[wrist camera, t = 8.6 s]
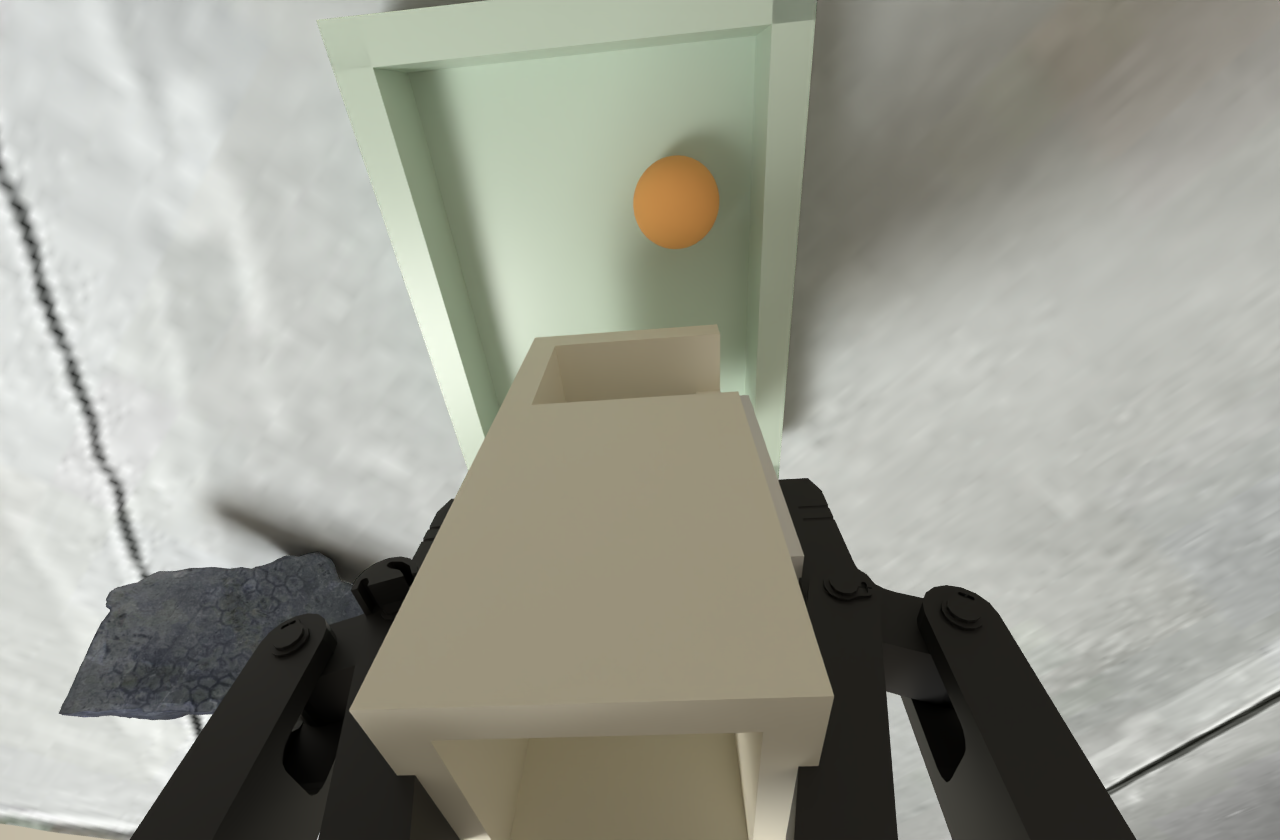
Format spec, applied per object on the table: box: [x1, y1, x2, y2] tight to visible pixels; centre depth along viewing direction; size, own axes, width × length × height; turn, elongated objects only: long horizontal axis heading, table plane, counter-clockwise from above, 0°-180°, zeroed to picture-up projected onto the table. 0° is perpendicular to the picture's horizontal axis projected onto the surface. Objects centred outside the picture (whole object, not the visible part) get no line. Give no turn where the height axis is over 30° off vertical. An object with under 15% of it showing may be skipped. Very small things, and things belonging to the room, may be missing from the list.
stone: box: [59, 552, 364, 720], centre depth 27 cm, size 14×6×10 cm, turn 76°
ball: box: [633, 155, 719, 249], centre depth 17 cm, size 3×3×3 cm
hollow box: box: [349, 324, 834, 840], centre depth 13 cm, size 6×6×12 cm
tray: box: [316, 0, 817, 479], centre depth 20 cm, size 18×14×4 cm
